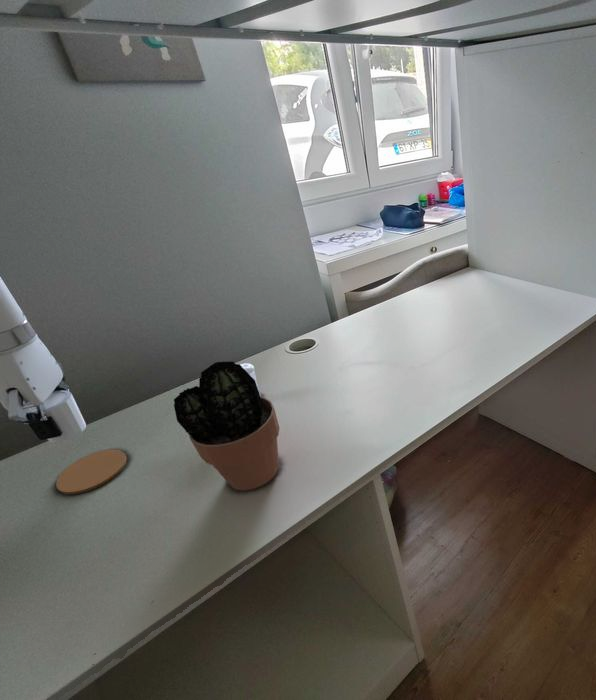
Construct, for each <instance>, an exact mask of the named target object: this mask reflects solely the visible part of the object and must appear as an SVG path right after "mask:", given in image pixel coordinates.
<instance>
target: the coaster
mask: <svg viewBox="0 0 596 700" xmlns="http://www.w3.org/2000/svg"><path fill="white" fill-rule="evenodd" d="M127 459H128V458H127V456H126V453H125V452H123V451H122V450H119V449H104V450H99V451H96V452H93V453H90V454H88V455H86V456H83V457H81V458H79V459H77V460H76V461H74V462H73V463H72V464H69V466H67V467H66V468H65V469H64V470H63V471H62V472H61V473H60V474H59V475H58V477H57V479H56V482H55V486H56V489H57V490H58V491H59V492H60V493H62V494H64V495H77V494H82V493H86V492H89V491H92V490H95V489H96V488H99V487H102V486H103V485H105V484H106V483H108V482H110V481H111V480H112V479H114V478H115V477H116V476H117V475H119V473H120V472H121V471H123V469H124V468H125V466H126V463H127Z"/></svg>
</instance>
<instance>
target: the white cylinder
mask: <svg viewBox="0 0 596 700" xmlns="http://www.w3.org/2000/svg"><path fill="white" fill-rule="evenodd" d="M69 391H70V390H68V391H65V390H61V391H54V392H52V393H51V394H50V395H49V397H48V398H47V399H46V400H45V401H44V402H43V403H44V406H45V410H46V413H47V417H49V416H51V417H52V418H53V419H54V421H55V422H56V424H57V425H58V427H59V428H60V430H61V431H62V435H61V436H59V437H54V438H50V439H46V441H48V442H49V443H54V444H56V443H63V442H66V441H69V440H71V439H73V438H75V437H77V436H78V435H80V434H81V433H83V432H84V430H85V429H86V428H87V423H86V421H85V419H84V417H83V415H82V412H81V410H80V408H78V406H77V404H76V402H77V401H76V402H75V400H76V399H75V397H74V395H73V394H72V392H71V391H70V392H69ZM72 395H73V396H72ZM73 397H74V398H73ZM74 399H75V400H74ZM32 403H33V402H32V401H27V402H26V405H27V404H32ZM29 412H30V413H31V412H32V413H37V409H36V407H31V408H29ZM37 414H38V413H37Z"/></svg>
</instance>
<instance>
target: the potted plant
mask: <svg viewBox="0 0 596 700" xmlns="http://www.w3.org/2000/svg"><path fill="white" fill-rule="evenodd" d="M240 364H241V363H240ZM240 364H239V363H236V362H235V361H233V360H232V361H231V360H230V361H215V362H214V363H212V364H211V365H209V366H208V367H206V368H205V369H204V370H203V371H201V372H200V377H199V378H198V380H199V383H198V385H195V386H193V387H190V388H189V387H187V388H186V389H183V391H181V392H179V395H177V396H176V397H175V398H173V402H174V404H173V408H174V412H175V416H176V417H175V418H176V421H177V423H178V424H179V425H180V426H181V428H182V429H184V431H185V432H186V433H187V434H188V436H189V440H190V442H191V443H192V445H193V447H194V449H195V450H196V452H197V453H198V456H199V457H200V459H202V461H203V462H205V463H206V464H208V465H211V466H213V468H214V469H215V470H216V471H217V472H218V473H219V475H221V477H222V478H223V479H224V481H226V482H227V483H228V485H229V486H230V487H231V488H232V489H234V490H237V491H249V490H255V489H258V488H260V487H262V486H264V485H266V484H267V483H268V482H270V481H271V480H272V479H273V478H274V477H275V476H276V474H277V473H278V471H279V469H280V468H279V467H280V460H279V459H280V458H279V447H278V445H279V444H278V437H279V435H280V423H279V420H278V418H277V417H278V416H277V414H276V409H275V406H274V404H273V403H272V401H271V400H270V399H269V398H267V397H265V396H261V393H260V394H259V392H260V390H259V391H258V388H259V387H258V388H257V385H256V382H255V380H254V379H253V378H252V377H251V376H250V375H249V374H248V373H247V372H246V370H245V369H244V368H243V367H242V366H241V365H240ZM260 396H261V397H260Z"/></svg>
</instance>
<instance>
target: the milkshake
mask: <svg viewBox="0 0 596 700" xmlns="http://www.w3.org/2000/svg"><path fill="white" fill-rule="evenodd" d="M240 365H241V366H242V367H243V368H244V369H245V370H246V372H247V373H248V374H249V375H250V376H251V377H252V378H253V379H254V380H255V382H256V385H257V388H258V391H259V394H260V397H262V396H261V391H260V388H259V385H258V380H257V376H256V375H257V374H256V369H255V367H254V365H253V364H251V363H247V362H246V363H240Z"/></svg>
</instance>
